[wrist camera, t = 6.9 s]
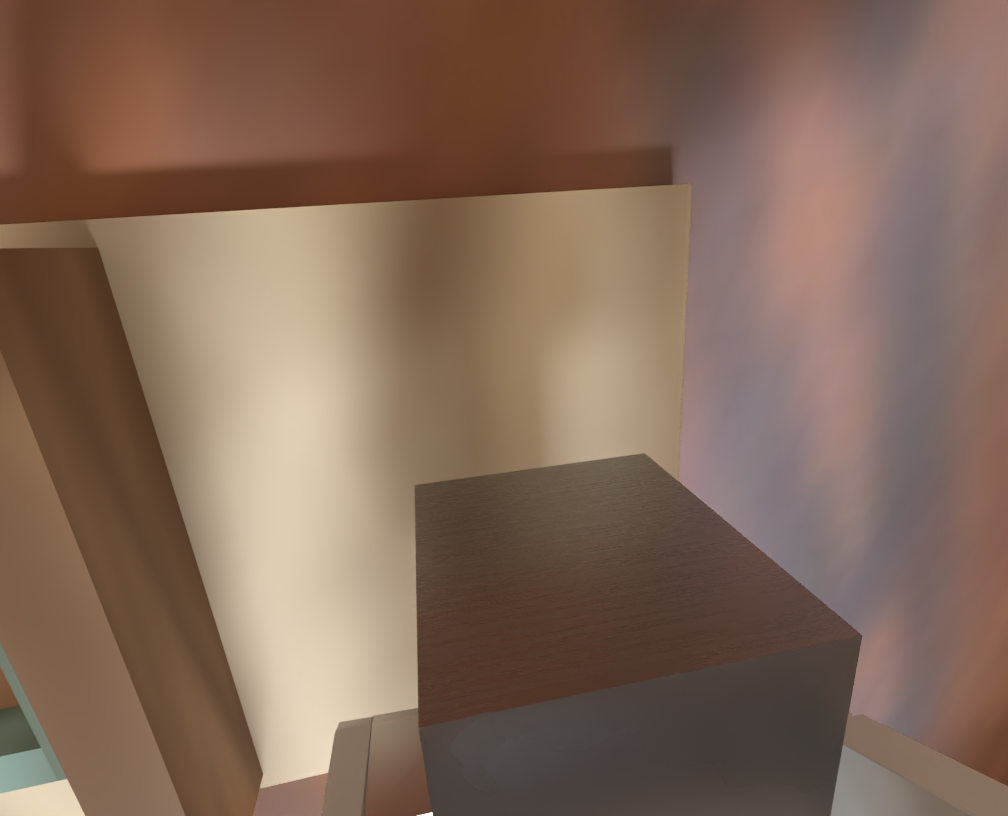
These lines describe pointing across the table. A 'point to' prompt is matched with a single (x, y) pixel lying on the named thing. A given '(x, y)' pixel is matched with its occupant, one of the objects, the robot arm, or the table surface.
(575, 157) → the table surface
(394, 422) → the lock board
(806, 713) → the block
